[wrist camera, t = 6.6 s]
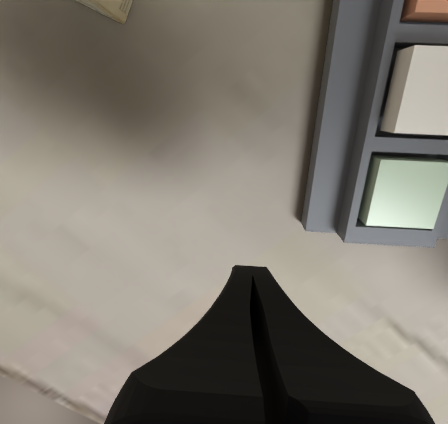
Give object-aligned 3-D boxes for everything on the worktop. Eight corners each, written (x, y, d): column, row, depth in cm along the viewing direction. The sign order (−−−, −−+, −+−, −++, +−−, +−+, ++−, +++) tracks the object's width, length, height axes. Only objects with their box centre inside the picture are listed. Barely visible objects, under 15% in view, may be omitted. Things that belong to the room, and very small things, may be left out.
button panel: (438, 230, 21) (469, 249, 18) (301, 222, 22) (310, 240, 19) (542, -89, 15) (612, -134, 12) (346, -93, 15) (370, -138, 12)
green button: (418, 219, 19) (433, 228, 17) (356, 215, 19) (365, 225, 18) (436, 158, 18) (454, 163, 16) (369, 154, 18) (381, 159, 16)
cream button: (452, 133, 16) (473, 136, 15) (380, 130, 16) (393, 132, 15) (476, 53, 15) (502, 48, 13) (397, 50, 15) (415, 45, 14)
